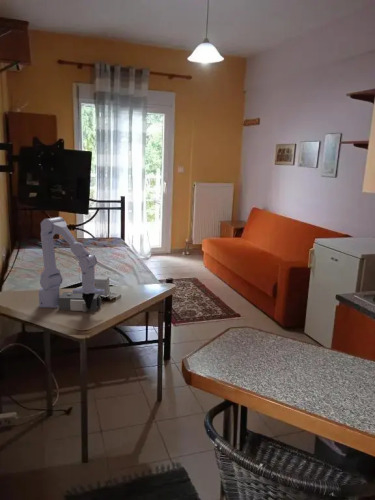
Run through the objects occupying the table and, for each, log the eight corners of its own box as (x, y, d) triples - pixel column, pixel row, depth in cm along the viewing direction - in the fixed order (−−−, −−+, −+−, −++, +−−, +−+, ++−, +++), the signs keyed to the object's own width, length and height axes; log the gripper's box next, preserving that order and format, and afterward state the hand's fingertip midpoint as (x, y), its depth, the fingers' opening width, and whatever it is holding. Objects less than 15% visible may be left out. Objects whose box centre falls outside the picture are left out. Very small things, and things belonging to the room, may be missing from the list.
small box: (109, 295, 218) (109, 276, 216) (106, 298, 213) (106, 279, 211) (95, 294, 219) (95, 275, 217) (92, 297, 213) (91, 278, 211)
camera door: (68, 312, 191) (68, 302, 189) (71, 309, 195) (70, 299, 194) (85, 313, 191) (85, 303, 189) (87, 309, 195) (87, 299, 194)
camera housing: (58, 309, 195) (58, 296, 194) (64, 303, 204) (63, 290, 203) (98, 310, 195) (98, 297, 194) (102, 304, 204) (102, 291, 203)
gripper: (70, 282, 185) (71, 310, 187) (102, 283, 185) (102, 311, 187) (74, 278, 191) (75, 305, 194) (105, 279, 191) (105, 306, 194)
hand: (89, 308), depth 191 cm, fingers closed
